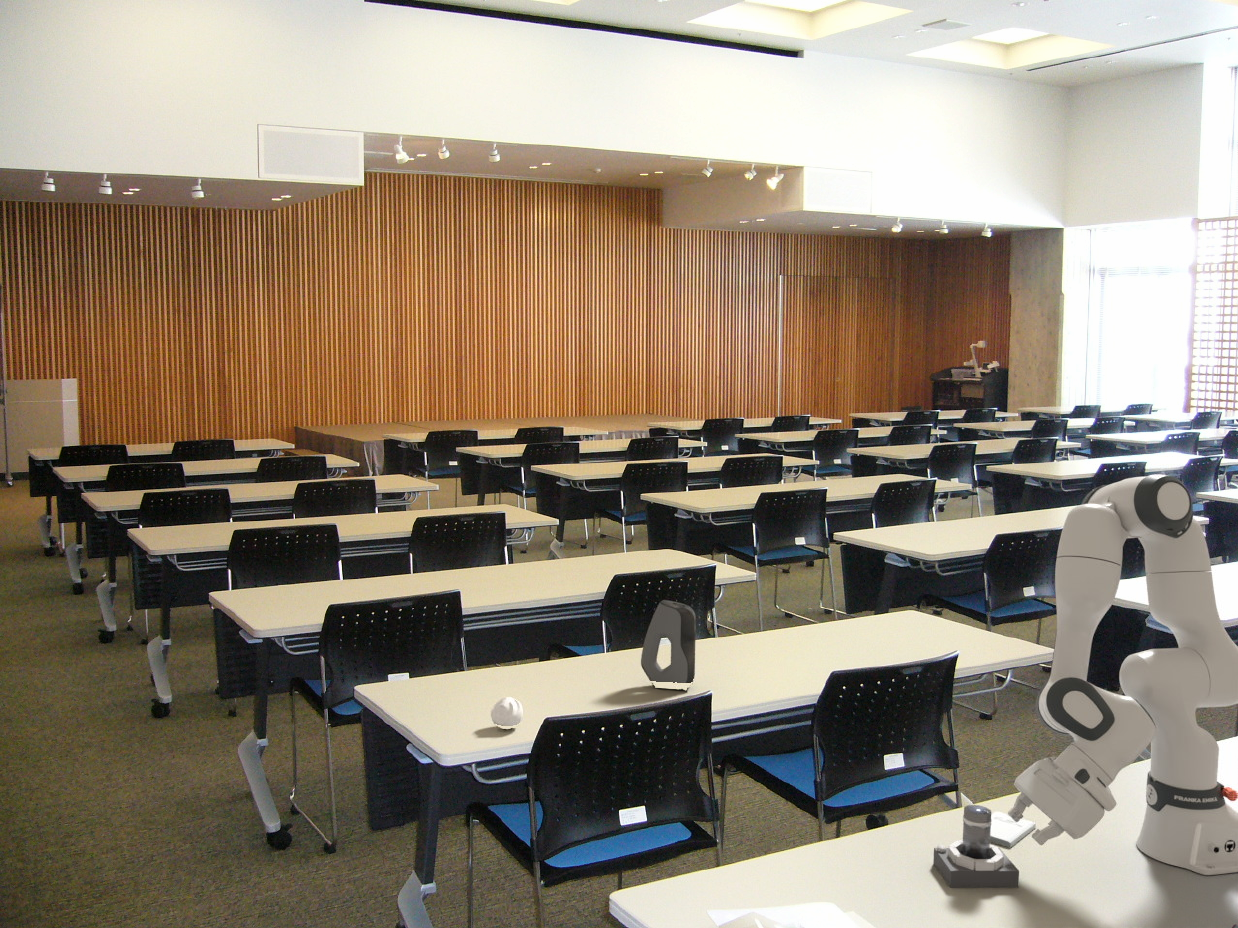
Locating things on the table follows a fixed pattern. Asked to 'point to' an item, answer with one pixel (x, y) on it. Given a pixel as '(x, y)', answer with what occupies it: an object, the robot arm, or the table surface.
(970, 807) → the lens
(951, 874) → the octagonal socket base
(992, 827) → the external hard drive
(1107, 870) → the table surface
